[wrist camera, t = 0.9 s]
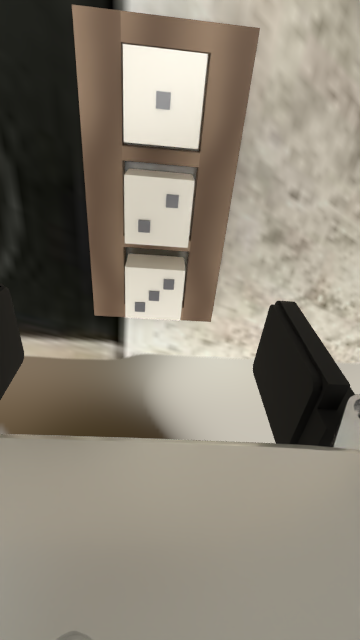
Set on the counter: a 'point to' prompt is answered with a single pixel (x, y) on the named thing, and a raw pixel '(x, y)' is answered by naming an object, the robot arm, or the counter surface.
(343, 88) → the counter surface
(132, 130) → the keypad button
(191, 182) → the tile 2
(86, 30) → the keypad board
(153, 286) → the white square block
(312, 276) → the counter surface
